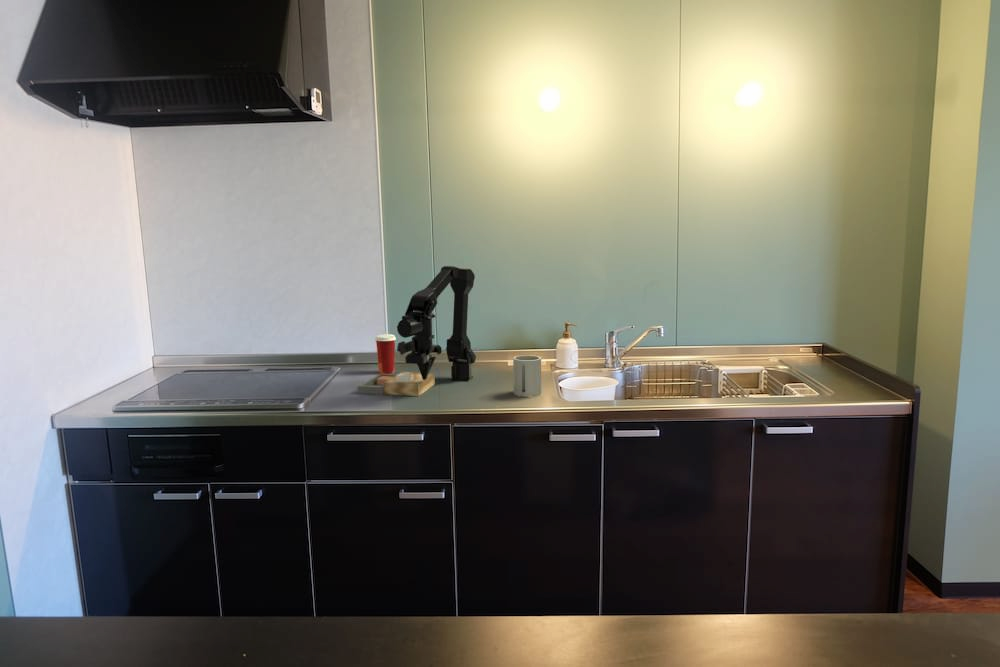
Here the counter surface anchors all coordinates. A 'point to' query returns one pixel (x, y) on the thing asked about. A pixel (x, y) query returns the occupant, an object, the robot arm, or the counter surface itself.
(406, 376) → the off-white tile
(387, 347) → the paper cup
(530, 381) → the cup
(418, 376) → the wooden flat block
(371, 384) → the box
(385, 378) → the terracotta tile
